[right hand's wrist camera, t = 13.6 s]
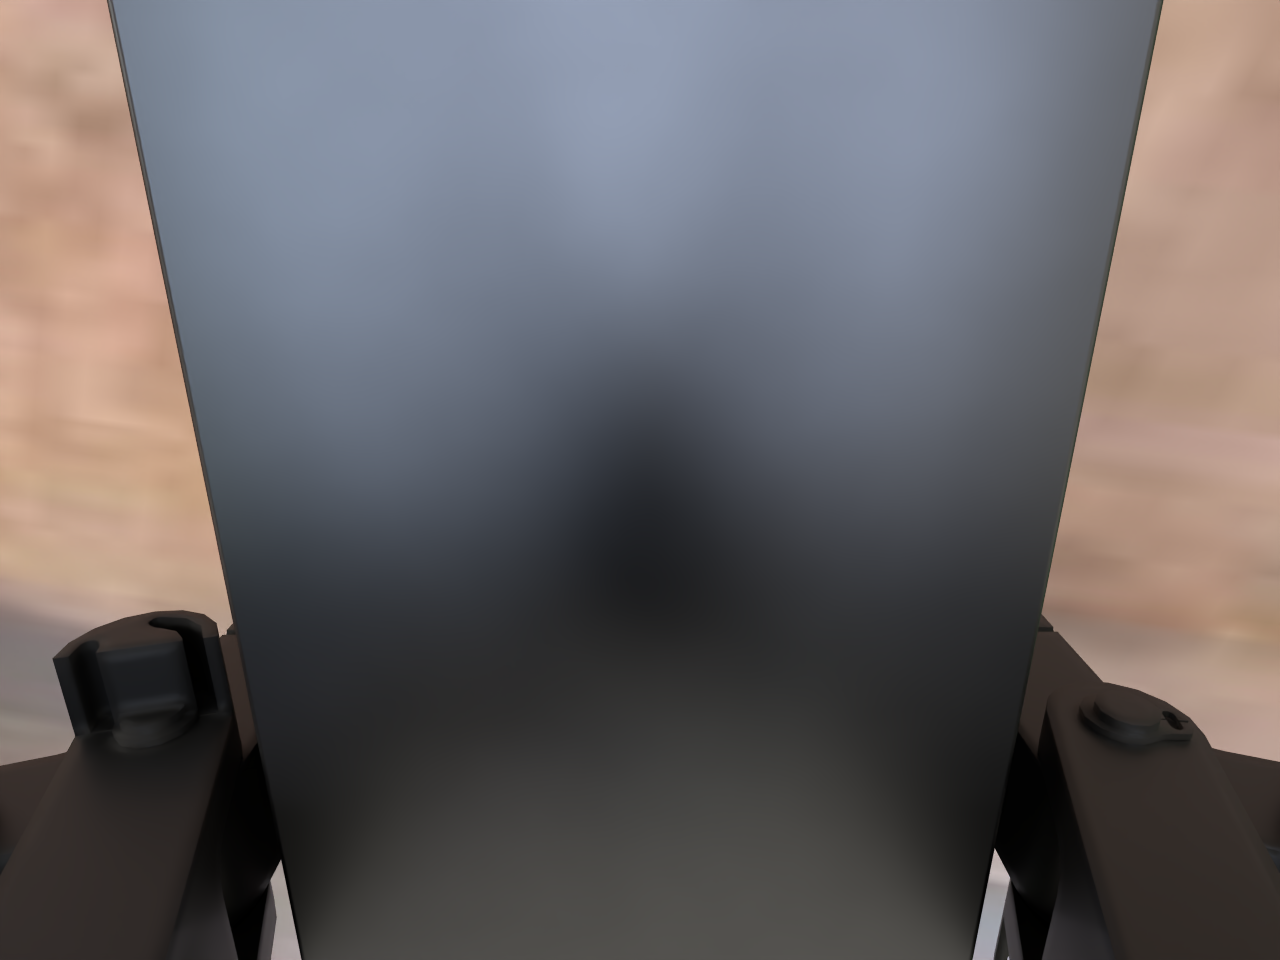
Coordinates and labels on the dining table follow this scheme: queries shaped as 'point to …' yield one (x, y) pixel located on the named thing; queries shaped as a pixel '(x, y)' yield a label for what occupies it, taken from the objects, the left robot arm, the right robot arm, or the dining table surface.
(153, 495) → the dining table surface
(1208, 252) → the dining table surface
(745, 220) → the bar
